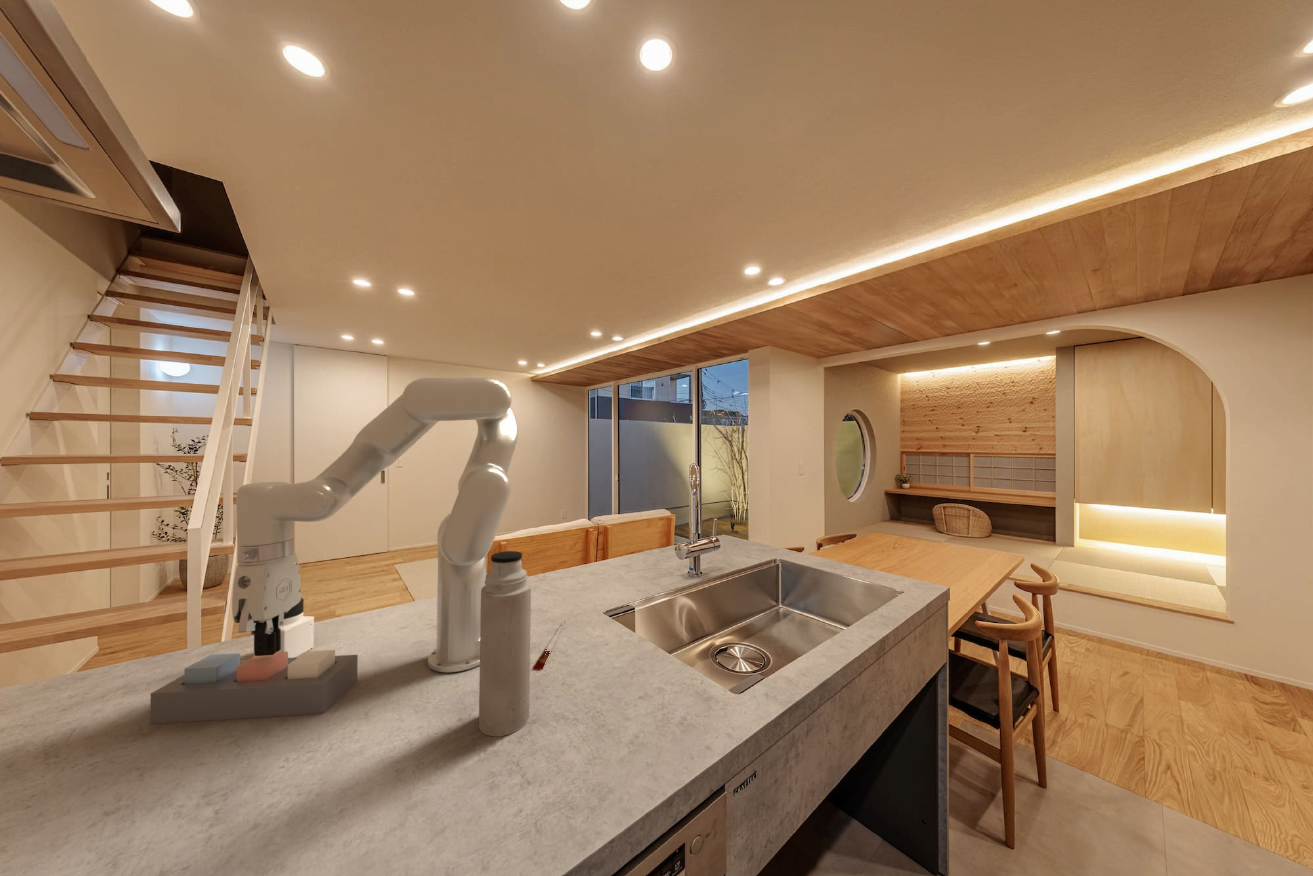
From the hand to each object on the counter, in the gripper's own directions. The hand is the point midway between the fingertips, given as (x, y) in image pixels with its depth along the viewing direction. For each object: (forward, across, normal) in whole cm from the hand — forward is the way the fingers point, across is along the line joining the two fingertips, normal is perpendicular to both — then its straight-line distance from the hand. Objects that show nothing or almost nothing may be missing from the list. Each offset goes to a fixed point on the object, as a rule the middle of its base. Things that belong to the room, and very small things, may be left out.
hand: (267, 653), depth 76 cm
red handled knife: (+10, +17, -48) cm, 52 cm away
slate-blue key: (+4, 0, +9) cm, 10 cm away
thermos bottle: (+9, -10, -43) cm, 45 cm away
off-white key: (+5, 0, -7) cm, 9 cm away
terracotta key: (+4, 0, +1) cm, 4 cm away
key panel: (+8, 0, +1) cm, 8 cm away
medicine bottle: (+8, +17, +9) cm, 21 cm away
